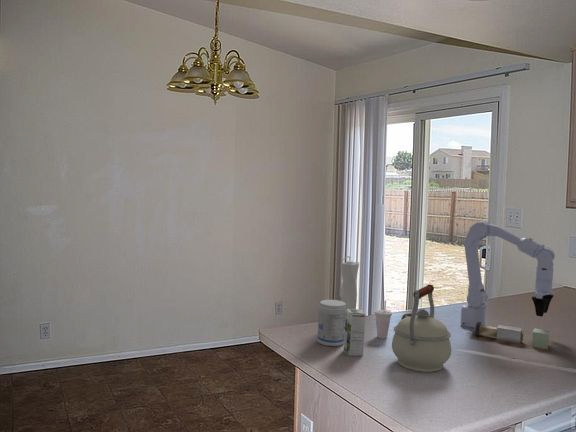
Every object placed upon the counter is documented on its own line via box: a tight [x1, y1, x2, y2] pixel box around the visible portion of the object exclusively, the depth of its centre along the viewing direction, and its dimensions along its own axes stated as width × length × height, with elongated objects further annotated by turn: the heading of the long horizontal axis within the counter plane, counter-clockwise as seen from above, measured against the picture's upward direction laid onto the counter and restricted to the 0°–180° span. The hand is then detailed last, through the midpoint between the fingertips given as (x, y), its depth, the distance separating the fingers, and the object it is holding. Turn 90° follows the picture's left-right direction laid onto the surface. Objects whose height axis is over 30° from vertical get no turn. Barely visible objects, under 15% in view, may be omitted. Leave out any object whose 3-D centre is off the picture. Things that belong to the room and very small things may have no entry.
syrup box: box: [343, 308, 366, 357], centre depth 168 cm, size 6×6×14 cm
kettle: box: [391, 284, 452, 373], centre depth 160 cm, size 25×18×25 cm
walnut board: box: [469, 330, 552, 353], centre depth 186 cm, size 27×12×1 cm, turn 61°
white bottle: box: [339, 256, 360, 319], centre depth 201 cm, size 8×8×28 cm
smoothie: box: [374, 300, 393, 339], centre depth 188 cm, size 6×6×14 cm
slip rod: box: [475, 322, 524, 341], centre depth 188 cm, size 16×4×4 cm, turn 61°
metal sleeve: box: [497, 324, 523, 344], centre depth 186 cm, size 8×5×5 cm, turn 61°
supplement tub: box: [317, 299, 346, 347], centre depth 178 cm, size 10×10×15 cm
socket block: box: [531, 327, 550, 349], centre depth 181 cm, size 5×6×5 cm
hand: (541, 314), depth 192 cm, fingers open, 7 cm apart
